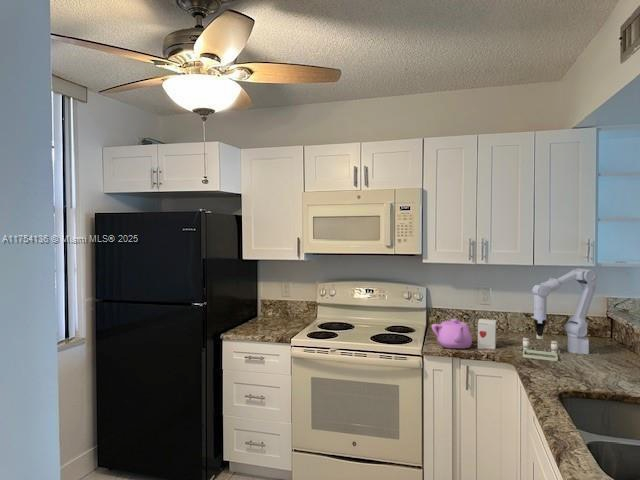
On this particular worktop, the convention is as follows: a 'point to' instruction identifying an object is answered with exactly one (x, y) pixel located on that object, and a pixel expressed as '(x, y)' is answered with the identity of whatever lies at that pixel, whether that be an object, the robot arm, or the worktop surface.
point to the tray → (540, 356)
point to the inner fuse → (554, 346)
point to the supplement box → (486, 334)
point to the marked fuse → (539, 337)
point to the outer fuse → (526, 343)
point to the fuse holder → (541, 350)
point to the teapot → (453, 334)
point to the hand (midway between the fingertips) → (539, 335)
